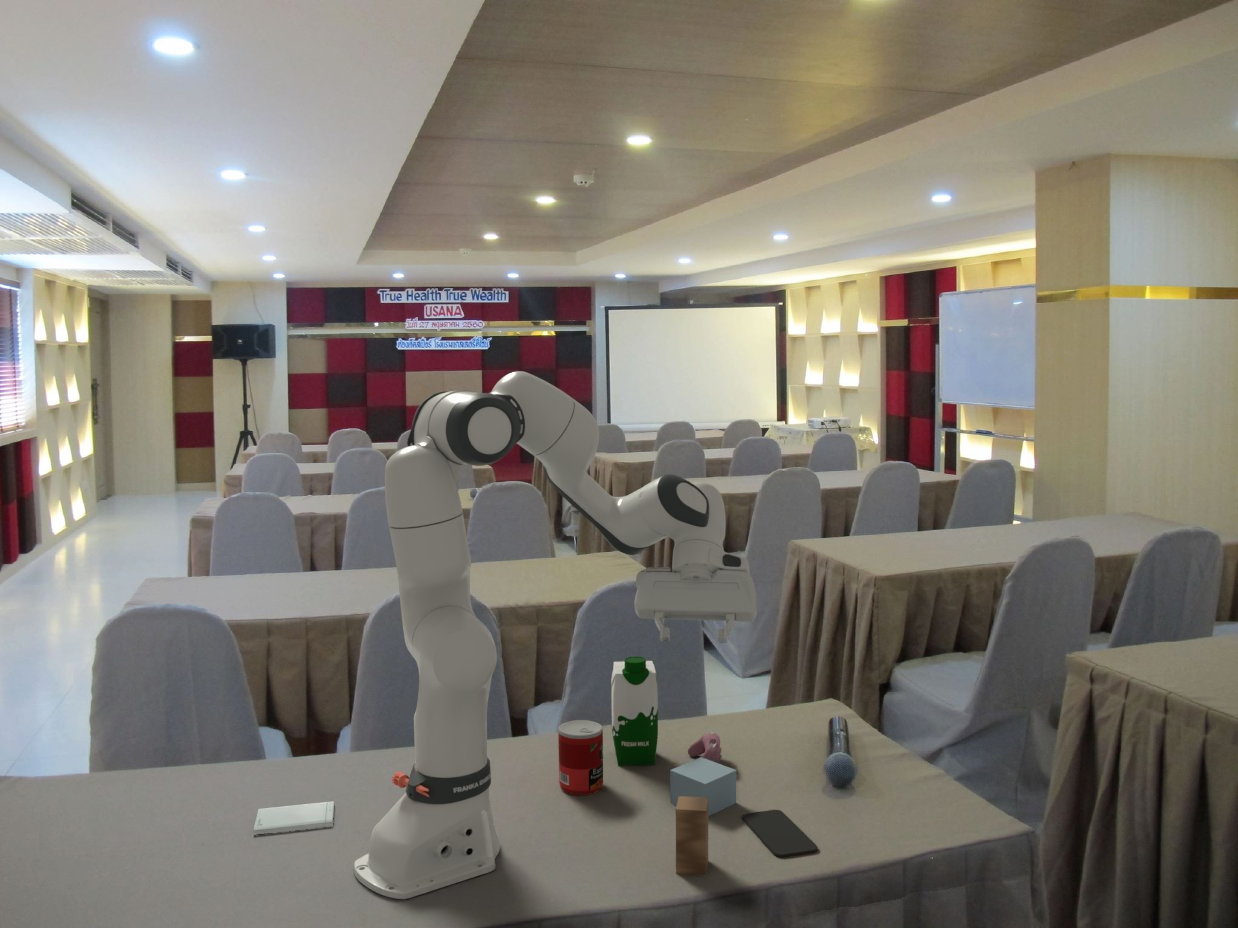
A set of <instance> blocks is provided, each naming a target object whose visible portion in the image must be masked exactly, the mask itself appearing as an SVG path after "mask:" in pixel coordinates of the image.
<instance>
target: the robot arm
mask: <svg viewBox="0 0 1238 928" xmlns="http://www.w3.org/2000/svg"><path fill="white" fill-rule="evenodd" d="M413 415H414V416H413V419H412V422H411V429H410V432H409V435H408V437H407V446H406V447H403V448H401V449H399V450H398V451H395V452H394V453H393V454H392V455H391V456H390V457H389V458H388V459H387V462H386V463H385V466H384V467H385V468H384V497H385V507H386V515H387V516H386V517H387V523H388V529H389V534H390V538H391V544H392V549H393V556H394V561H395V567H396V571H397V577H398V578H397V579H398V587H399V588H398V592H399V603H400V606H399V607H400V614H401V621H402V629H403V630H402V631H403V637H404V643H405V646H406V648H407V650H408V653H410V654H411V656H412V657H413V658H414V660H415V662H416V665H417V668H418V676H419V678H418V680H419V681H418V693H417V695H418V696H417V703H416V709H415V713H414V715H413V730H414V731H413V732H414V733H413V734H414V736H413V737H414V738H413V740H414V764H413V766H412V769H411V771H410V774H409V775H408V774H404V773H403V772H401V771H396V772H395V773H394V774H393V776H392V780H391V781H392V784H393V785H395V786H398V787H399V788H400V789H401V788H402V789H404V788H405V793H404V794H403V795H402V796H401V797H400V798H399V800H397V802H396V803H395V804H394V805H393V806H392V807H391V809H390V810H389V811H388V812H387V813H386V814H385V815H384V816H383V817H382V818H381V820H379V822H378V823H377V824H376V825H375V826H374V827H373V829H372V832H371V834H370V839H369V846H368V853H366V854H364V855H362V856H361V857H359V858H358V859H355V860H354V863H353V875H354V876H355V878H356V879H357V880H358V882H360V883H361V885H364V886H365V887H366V888H368V889H370V890H371V891H373V892H374V893H377V894H379V895H381V896H384V897H388V898H391V899H398V900H407V899H410V898H414V897H417V896H420V895H422V894H426V893H429V892H432V891H435V890H438V889H442V888H444V887H447V886H451V885H454V884H456V883H460V882H462V881H466V880H469V879H472V878H476V877H478V876H481V875H485V874H488V873H491V872H492V871H494V870H495V869H496V857H497V856H498V855H499V852H500V850H501V843H500V840H499V838H498V834H497V831H496V827H495V822H494V817H493V812H492V807H491V798H490V785H491V784H492V772H491V769H492V768H491V760H490V758H489V757H488V731H487V730H488V729H487V728H488V726H487V720H488V717H487V716H488V715H487V714H488V713H487V712H488V704H489V698H490V697H489V696H490V691H491V686H492V685H491V683H492V676H493V674H494V672H495V670H496V667H497V661H498V653H497V647H496V644H495V640H494V638H493V636H492V634H491V631H490V630H489V628H488V627H487V626H486V625H485V624H484V623H483V622H482V621H481V620H480V619H479V618H477V617H476V614H475V612H474V610H473V605H472V601H471V586H470V585H471V584H470V583H471V582H470V581H471V580H470V579H471V578H470V577H471V575H470V574H471V573H470V572H471V567H472V557H471V552H470V546H469V541H468V534H467V529H466V523H465V517H464V511H463V506H462V501H461V497H460V493H459V491H460V490H459V489H460V488H459V487H460V486H459V485H460V477H461V474H462V471H463V470H464V466H465V465H466V466H467V465H468V466H469V465H471V466H476V467H483V466H488V465H489V466H490V465H492V464H494V463H496V462H499V461H500V460H501V459H503V458H504V457H506V456H507V455H508V454H509V453H510V452H511V450H513V448H514V446H515V445H518V446H520V447H521V448H522V449H524V450H525V451H527V452H528V453H530V454H531V455H532V456H533V457H534V458H536V459H537V460H538V461H540V463H542V465H543V467H542V469H543V474H544V476H545V478H546V480H547V482H548V483H549V484H550V485H551V487H552V488H554V490H555V491H557V493H558V494H559V495H561V497H562V498H564V499H565V500H566V501H567V502H568V503H569V504H570V505H571V506H572V507H574V508H575V509H576V511H578V512H579V513H580V514H581V515H583V517H585V518H586V519H587V520H588V521H589V522H590V523H591V524H592V525H593V526H594V527H596V528H597V530H598V531H599V532H600V534H602V536H603V538H605V540H606V541H607V543H609V545H610V546H611V547H612V548H614V549H615V550H617V551H618V552H620V553H623V554H625V555H628V556H635V555H639V554H641V553H642V552H644V551H646V550H647V549H648V548H650V547H652V546H654V544H656V543H658V542H660V541H662V540H663V539H664V540H665V539H666V538H670V539H671V540H673V542H674V547H673V550H672V562H671V564H672V565H671V567H668V566H667V567H653V566H648V567H645V569H642V570H640V571H638V572H637V574H636V575H635V586H636V588H637V590H636V592H635V596H634V597H635V598H634V602H633V603H634V605H633V606H634V612H635V614H636V615H637V616H638V618H639V619H644V620H645V619H646V620H647V619H648V620H654V623H655V625H656V627H657V629H658V632H659V641H660V642H670V637H671V636H670V635H671V632H670V631H671V630H670V627H666V626H665V625H664V624H665V620H678V621H679V620H680V621H681V620H683V621H687V620H689V621H712V622H713V621H716V622H717V621H718V622H719V621H721V622H726V624H725V626H724V627H723V628H718V631H717V632H718V633H717V634H718V635H717V641H718V642H717V644H728V638H729V634H730V633H731V632H732V631H733V629H734V628H735V627H736V626H735V625H736V622H750V623H751V622H753V621H754V620H755V619H756V618H757V607H758V606H757V596H756V595H757V594H756V586H755V582H754V580H753V577H752V576H751V571H750V570H751V569H750V564H749V561H748V559H747V558H745V557H742V556H739V555H736V554H732V553H730V552H726V551H725V550H724V546H723V542H724V540H725V537H726V522H727V521H726V509H725V503H724V499H723V496H722V494H721V491H719V489H717V487H715V486H714V485H712V484H710V483H707V482H703V481H695V482H690V481H688V480H687V479H686V478H684V477H682V476H680V475H676V474H672V473H669V474H665V475H662V476H660V477H658V478H656V479H654V480H652V481H650V482H649V483H647V484H645V485H643V486H642V487H640V488H639V489H637V490H635V491H633V492H631V493H629V494H628V495H624V496H613V495H611V494H609V492H608V491H606V490H605V489H604V488H603V487H602V486H601V485H600V484H599V483H598V482H597V481H596V480H595V479H594V478H593V477H592V476H590V474H589V473H588V472H587V470H588V468H589V467H590V466H591V464H592V462H593V460H594V459H595V456H596V453H597V450H598V446H599V443H600V442H599V441H600V429H599V424H598V422H597V420H596V418H595V417H594V415H592V413H591V412H590V411H589V409H587V408H586V407H585V406H583V405H582V404H581V403H580V402H578V401H577V400H576V399H574V398H573V397H571V396H570V395H569V394H567V393H566V392H565V391H563V390H562V389H560V388H558V387H556V386H555V385H553V384H551V383H549V382H548V381H546V380H544V379H542V378H540V377H538V376H536V375H534V374H531V373H529V372H526V371H522V370H519V371H518V370H517V371H512V372H510V373H508V374H506V375H504V376H503V377H501V378H500V379H499V380H498V381H497V382H496V383H495V385H494V387H493V388H492V390H491V391H490V392H473V391H470V390H463V389H461V390H451V391H446V390H445V391H440V392H437V393H434V394H432V395H429V396H428V397H427V398H425V399H424V400H423V401H422V402H421V403H420V404H419V406H418V407H417V408H416V411H415V413H414V414H413Z"/></svg>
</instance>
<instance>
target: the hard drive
mask: <svg viewBox="0 0 1238 928" xmlns="http://www.w3.org/2000/svg"><path fill="white" fill-rule="evenodd" d="M334 806H335V801H323V802H322V801H321V802H311V803H304V804H295V805H293V804H292V805H284V806H274V807H267V808H265V807H263V808H258V810H257V814H256V817H255V822H254V826H253V832H252V835H256V834H264V833H273V834H278V833H277V832H282V833H289V831H291V832H296V831H295V830H300V831H307V830H306V829H308V830H315V829H316V828H317V829H324V828H323V827H326V828H332V827H334V819H335V818H334V815H335V807H334ZM333 818H334V819H333ZM256 836H257V835H256Z"/></svg>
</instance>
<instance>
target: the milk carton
mask: <svg viewBox="0 0 1238 928" xmlns="http://www.w3.org/2000/svg"><path fill="white" fill-rule="evenodd" d="M610 681H611V682H610V683H611V733H612V740H613V744H614V751H615V752H614V753H615V756H616V761H617V766H618V767H619V766H621V767H622V766H652V765H656V764H655V763H656V756H657V748H658V747H657V745H658V736H659V732H658V731H659V712H658V711H659V710H658V709H659V704H658V703H659V698H658V697H659V696H658V693H659V692H658V684H659V683H658V675H657V670H656V667H655V664H654V663H653V660H647V659H646V658H645V657H642V656H628V657H626V658H624V661H613V669H612V673H611V679H610Z"/></svg>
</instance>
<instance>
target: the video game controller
mask: <svg viewBox="0 0 1238 928" xmlns="http://www.w3.org/2000/svg"><path fill="white" fill-rule="evenodd" d="M687 754H688V755H689V757H690V758H691V757H692V758H695V757H699V756H700V757H702V758H705V759H708V760H710V761H713V762H716V763H718V762H719V761H721V760H722V759H723V754H722V747H721V738H720V736H719V734H717V733H715V732H710V731H709V730H708V731H707V732H705V733H703V735H702V736H700V737H699V739H698V740H696V741H695V742H693V743H692V744H690V746H689V747H688V749H687Z"/></svg>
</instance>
